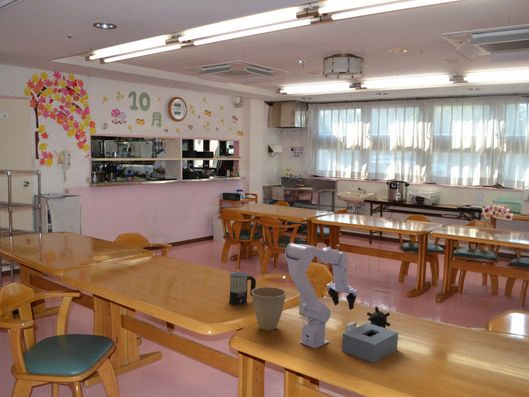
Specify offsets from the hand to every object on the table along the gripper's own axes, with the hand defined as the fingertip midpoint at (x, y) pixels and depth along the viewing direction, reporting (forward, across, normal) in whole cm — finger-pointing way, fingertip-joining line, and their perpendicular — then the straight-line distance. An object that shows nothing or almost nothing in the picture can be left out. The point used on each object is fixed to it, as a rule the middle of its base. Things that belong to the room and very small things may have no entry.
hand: (344, 306), depth 198 cm
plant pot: (+5, +25, +23) cm, 35 cm away
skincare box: (+12, +26, -4) cm, 29 cm away
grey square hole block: (+9, -18, +11) cm, 23 cm away
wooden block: (+11, -4, +3) cm, 12 cm away
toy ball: (+15, -8, -12) cm, 21 cm away
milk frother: (+9, +61, +8) cm, 62 cm away
